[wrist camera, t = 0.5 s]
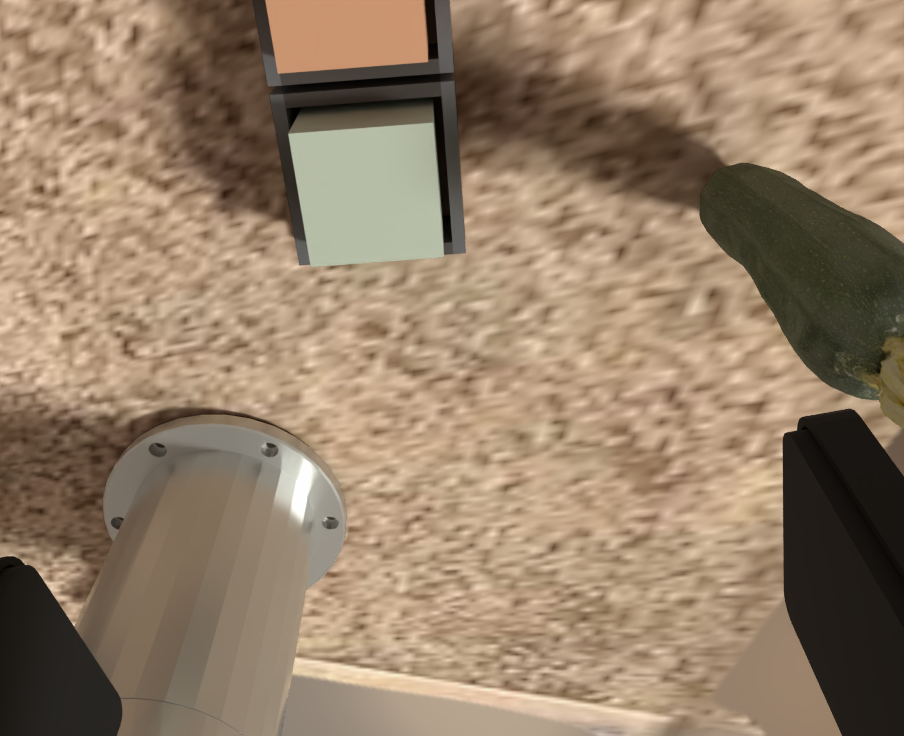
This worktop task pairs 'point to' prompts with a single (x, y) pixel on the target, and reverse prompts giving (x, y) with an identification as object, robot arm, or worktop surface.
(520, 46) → the worktop surface
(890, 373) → the vegetable
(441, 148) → the gray compartment tray
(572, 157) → the worktop surface
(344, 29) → the terracotta key
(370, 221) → the sage key
